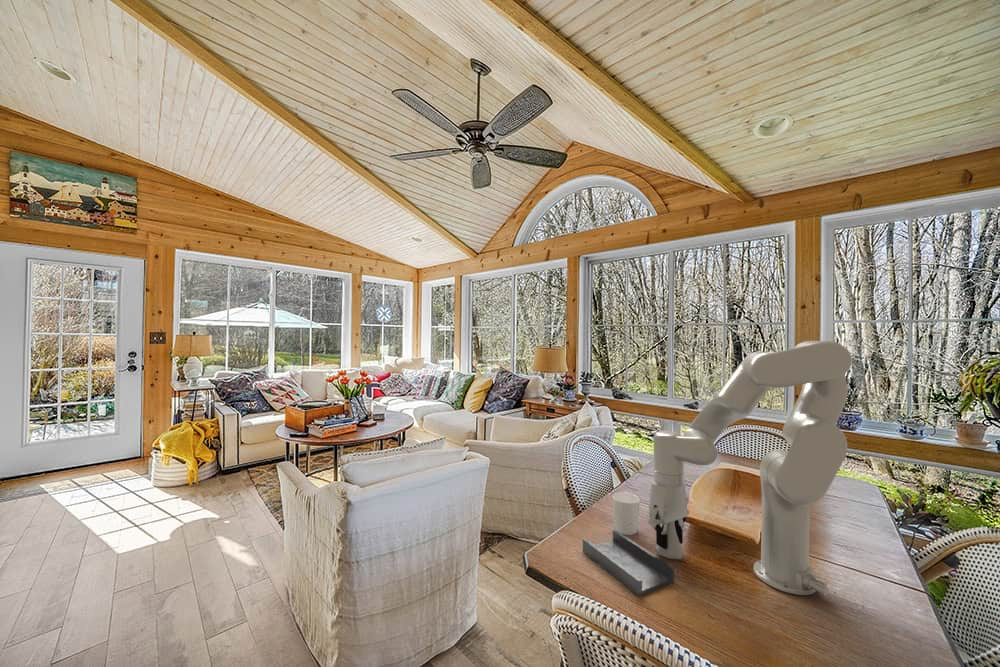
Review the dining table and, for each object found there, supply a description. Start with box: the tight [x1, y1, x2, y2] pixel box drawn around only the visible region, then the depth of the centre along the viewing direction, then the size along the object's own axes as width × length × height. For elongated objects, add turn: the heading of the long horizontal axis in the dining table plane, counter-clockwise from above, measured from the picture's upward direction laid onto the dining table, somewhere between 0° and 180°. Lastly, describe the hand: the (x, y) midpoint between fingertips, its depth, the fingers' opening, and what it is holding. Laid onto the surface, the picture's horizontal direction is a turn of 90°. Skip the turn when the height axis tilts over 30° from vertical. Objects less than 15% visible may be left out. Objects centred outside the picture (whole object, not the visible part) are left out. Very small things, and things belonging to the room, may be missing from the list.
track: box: [582, 529, 676, 597], centre depth 100 cm, size 20×12×4 cm, turn 27°
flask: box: [655, 521, 685, 560], centre depth 105 cm, size 7×7×10 cm
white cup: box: [612, 492, 641, 536], centre depth 119 cm, size 8×8×10 cm
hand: (669, 543), depth 105 cm, fingers closed on flask, 5 cm apart
